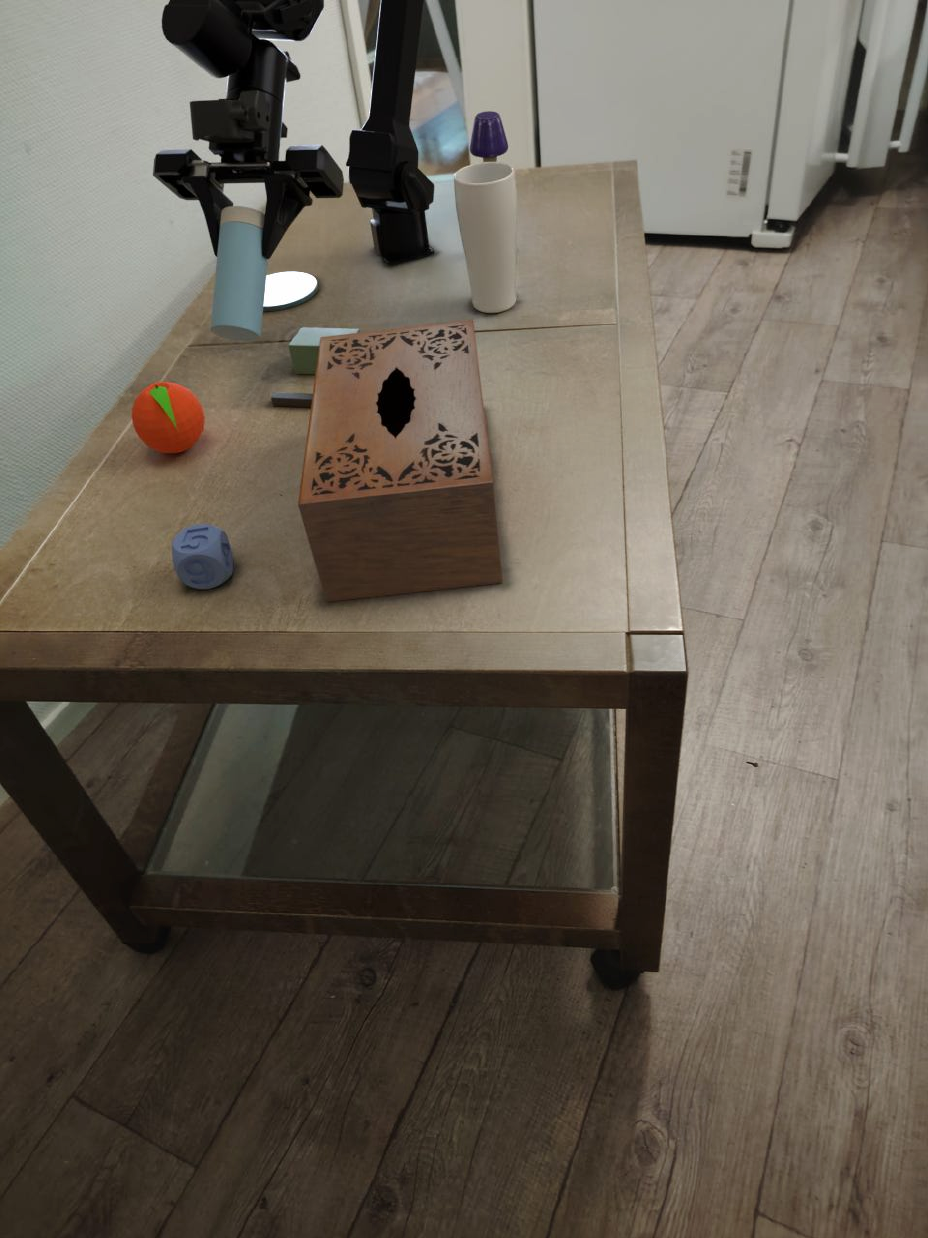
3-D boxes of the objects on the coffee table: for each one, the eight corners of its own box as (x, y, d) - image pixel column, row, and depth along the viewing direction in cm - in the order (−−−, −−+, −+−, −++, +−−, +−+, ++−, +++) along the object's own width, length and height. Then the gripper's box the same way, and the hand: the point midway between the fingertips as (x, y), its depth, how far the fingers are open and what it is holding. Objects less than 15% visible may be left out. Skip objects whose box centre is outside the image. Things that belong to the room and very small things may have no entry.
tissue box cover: (502, 582, 72) (492, 482, 65) (326, 602, 73) (297, 504, 66) (482, 411, 90) (473, 318, 83) (341, 427, 91) (320, 336, 84)
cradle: (308, 355, 103) (301, 326, 100) (365, 357, 101) (359, 328, 98) (272, 405, 95) (264, 376, 93) (333, 408, 94) (326, 379, 91)
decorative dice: (234, 555, 78) (221, 519, 75) (231, 586, 75) (217, 550, 72) (189, 562, 78) (174, 527, 75) (184, 593, 75) (168, 557, 72)
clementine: (225, 455, 89) (203, 393, 84) (158, 480, 88) (132, 418, 83) (202, 420, 95) (180, 359, 90) (138, 443, 93) (112, 382, 88)
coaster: (306, 269, 120) (305, 264, 119) (327, 297, 113) (326, 292, 112) (234, 288, 118) (232, 283, 117) (250, 318, 111) (249, 313, 110)
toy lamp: (519, 248, 117) (512, 108, 106) (506, 263, 115) (496, 121, 103) (486, 245, 119) (475, 107, 107) (472, 260, 116) (459, 119, 105)
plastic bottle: (256, 304, 100) (226, 193, 92) (297, 305, 99) (271, 192, 91) (211, 356, 92) (174, 239, 84) (255, 358, 91) (222, 239, 83)
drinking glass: (458, 315, 106) (443, 182, 95) (478, 289, 110) (466, 160, 100) (511, 320, 104) (502, 185, 93) (530, 293, 108) (524, 161, 97)
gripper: (126, 59, 85) (113, 224, 86) (308, 49, 81) (293, 222, 81) (188, 123, 96) (176, 268, 96) (351, 117, 92) (338, 269, 92)
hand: (241, 257), depth 91 cm, fingers closed on plastic bottle, 5 cm apart
